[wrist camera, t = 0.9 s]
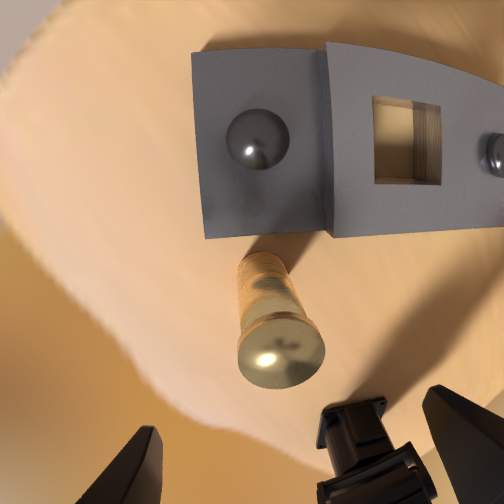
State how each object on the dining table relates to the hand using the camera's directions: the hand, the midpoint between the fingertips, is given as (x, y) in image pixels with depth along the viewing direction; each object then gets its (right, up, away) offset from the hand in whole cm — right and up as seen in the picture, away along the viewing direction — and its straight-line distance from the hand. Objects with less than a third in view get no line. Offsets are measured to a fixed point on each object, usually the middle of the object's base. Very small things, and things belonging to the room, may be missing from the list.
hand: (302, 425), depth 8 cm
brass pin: (-1, +4, +11) cm, 11 cm away
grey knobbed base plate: (+7, +12, +8) cm, 16 cm away
